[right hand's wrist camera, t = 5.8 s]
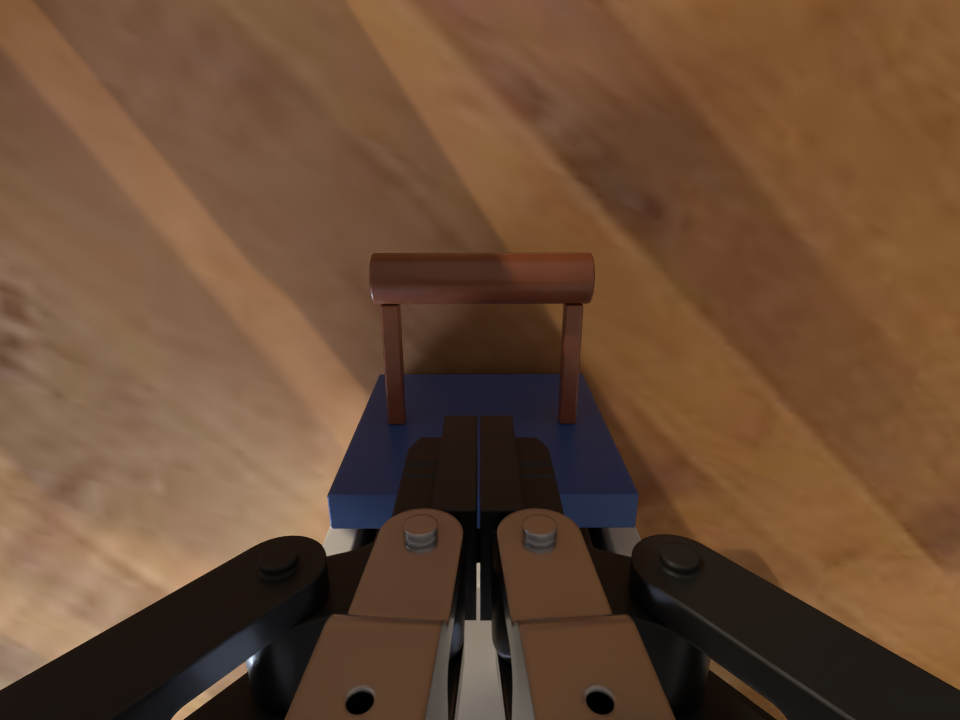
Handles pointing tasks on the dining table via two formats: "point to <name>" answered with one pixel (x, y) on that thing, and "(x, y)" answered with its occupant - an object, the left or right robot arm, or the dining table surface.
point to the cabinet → (480, 675)
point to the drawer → (483, 389)
